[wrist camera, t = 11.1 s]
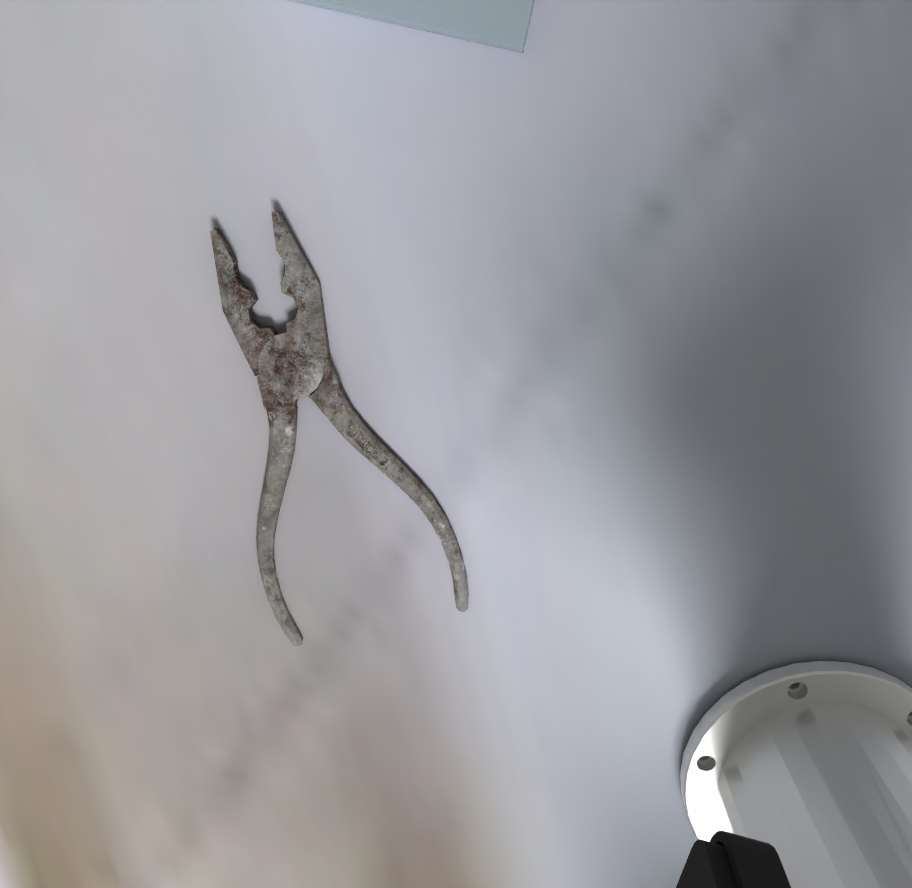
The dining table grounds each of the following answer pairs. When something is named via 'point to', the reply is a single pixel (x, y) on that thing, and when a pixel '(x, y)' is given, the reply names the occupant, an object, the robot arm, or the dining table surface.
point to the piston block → (448, 17)
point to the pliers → (297, 375)
